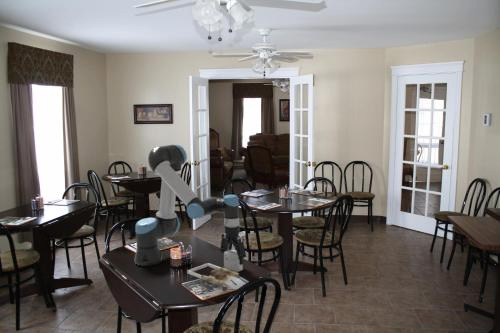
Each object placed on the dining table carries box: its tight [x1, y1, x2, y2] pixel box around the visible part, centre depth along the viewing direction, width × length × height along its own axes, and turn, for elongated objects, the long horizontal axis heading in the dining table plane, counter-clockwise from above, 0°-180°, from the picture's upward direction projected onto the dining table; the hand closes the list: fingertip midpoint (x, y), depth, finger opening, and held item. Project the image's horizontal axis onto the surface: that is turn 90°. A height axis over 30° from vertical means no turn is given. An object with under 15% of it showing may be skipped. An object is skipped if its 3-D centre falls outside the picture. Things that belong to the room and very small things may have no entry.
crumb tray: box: [186, 262, 222, 280], centre depth 219 cm, size 11×14×3 cm
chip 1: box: [210, 268, 222, 277], centre depth 215 cm, size 4×4×2 cm
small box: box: [223, 249, 241, 273], centre depth 221 cm, size 8×6×10 cm
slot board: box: [201, 267, 240, 286], centre depth 211 cm, size 12×14×3 cm
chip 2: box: [215, 271, 227, 280], centre depth 211 cm, size 4×4×2 cm
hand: (233, 267), depth 222 cm, fingers closed on small box, 9 cm apart
